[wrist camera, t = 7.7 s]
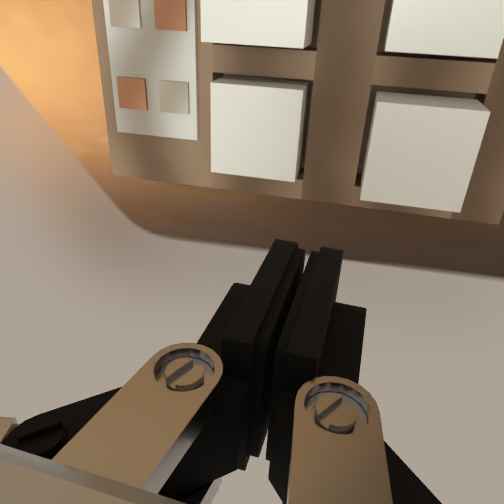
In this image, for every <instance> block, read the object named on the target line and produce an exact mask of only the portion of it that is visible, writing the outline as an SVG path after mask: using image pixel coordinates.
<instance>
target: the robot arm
mask: <svg viewBox="0 0 504 504" xmlns="http://www.w3.org/2000/svg"><path fill="white" fill-rule="evenodd" d="M342 258H343V250H338V249H332V248H326V247H321V249H320V252H315V251H311V254H310V256H309V259H308V262H307V265H306V267H305V270H304V273H303V269H304V260H305V250H304V249H298V243H297V242H291V241H285V240H279V239H276V240H275V241H274V243H273V245H272V247H271V248H270V250H269V252H268V254H267V256H266V258H265V260H264V261H263V263H262V265H261V267H260V269H259V271H258V272H257V274H256V276H255V278H254V280H253V282H252V283H251V285H245V284H240V283H234V284H233V286H232V287H231V288H230V290H229V291H228V293H227V295H226V296H225V298H224V300H223V301H222V303H221V305H220V306H219V308H218V310H217V311H216V313H215V315H214V316H213V318H212V319H211V321H210V323H209V324H208V326H207V327H206V329H205V331H204V332H203V334H202V336H201V337H200V339H199V340H198V342H197V344H195V343H180V344H175V345H170V346H168V347H166V348H164V349H161V350H160V351H159V352H157V353H156V354H155V355H153V356H152V357H151V358H150V359H149V360H148V361H147V362H146V363H145V364H144V365H143V366H142V368H140V370H139V371H138V372H137V373H136V374H135V375H134V376H133V377H132V378H131V379H130V380H129V381H128V382H127V383H126V384H125V385H124V386H123V387H120V388H117V389H114V390H111V391H108V392H105V393H102V394H99V395H96V396H93V397H90V398H87V399H84V400H81V401H78V402H75V403H72V404H69V405H66V406H63V407H60V408H57V409H54V410H51V411H48V412H45V413H42V414H39V415H37V416H34V417H32V418H30V419H28V420H25V421H24V422H23V423H21V424H17V421H16V418H10V417H0V504H211V502H212V500H213V498H214V497H215V495H216V493H217V491H218V489H219V486H220V484H221V477H222V476H224V475H226V474H228V473H231V472H233V471H235V470H237V469H241V470H245V469H246V466H247V463H248V460H249V457H250V455H251V456H255V457H259V455H260V452H261V449H262V446H263V443H264V440H265V437H266V434H267V430H268V438H267V449H266V460H269V461H270V467H269V477H268V478H269V480H270V482H271V484H272V485H273V487H274V489H275V490H276V492H277V494H278V495H279V497H280V499H281V500H282V502H283V503H282V504H442V503H441V502H440V501H439V500H438V499H437V498H436V497H435V496H434V495H433V494H432V492H431V491H430V490H429V489H428V488H427V487H426V486H425V485H424V484H423V483H422V482H421V480H420V479H419V478H418V477H417V476H416V475H415V474H414V473H413V472H412V471H411V470H410V469H409V468H408V466H407V465H406V464H405V463H404V462H403V461H402V460H401V459H400V458H399V456H398V455H397V454H395V452H394V451H393V450H392V449H391V448H390V447H389V446H388V445H387V443H386V442H385V441H384V439H383V432H382V425H381V419H380V412H379V409H378V406H377V403H376V401H375V400H374V398H373V397H372V396H371V394H370V393H369V392H368V391H367V390H365V389H364V388H363V387H362V386H360V385H359V384H358V381H359V372H360V363H361V354H362V345H363V336H364V327H365V318H366V308H362V307H357V306H352V305H347V304H342V303H337V302H335V301H336V295H337V289H338V283H339V276H340V270H341V264H342Z"/></svg>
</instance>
